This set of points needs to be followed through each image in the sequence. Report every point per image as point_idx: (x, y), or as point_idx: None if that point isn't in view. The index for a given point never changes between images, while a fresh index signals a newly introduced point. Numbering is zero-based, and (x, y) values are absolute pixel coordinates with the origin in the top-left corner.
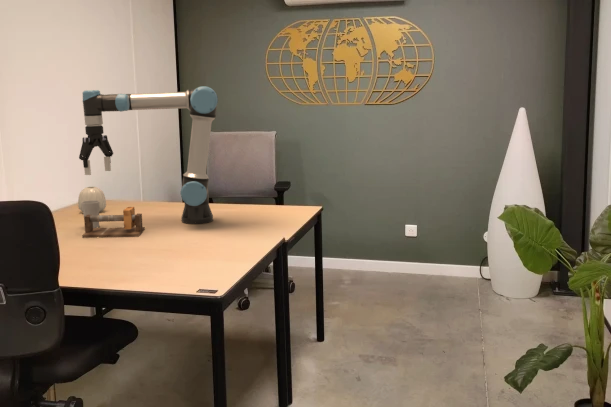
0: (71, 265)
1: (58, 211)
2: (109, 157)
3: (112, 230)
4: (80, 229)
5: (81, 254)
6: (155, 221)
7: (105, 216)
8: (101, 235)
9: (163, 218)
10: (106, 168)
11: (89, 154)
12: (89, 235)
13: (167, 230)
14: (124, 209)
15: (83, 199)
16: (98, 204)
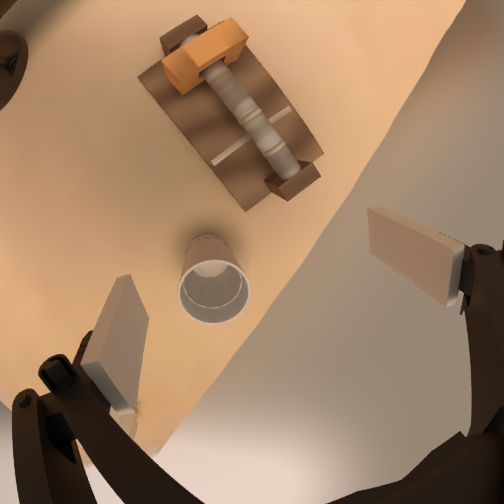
0: (443, 20)
1: (161, 445)
2: (87, 357)
3: (232, 121)
4: (250, 254)
5: (408, 41)
6: (43, 159)
7: (266, 120)
8: (291, 105)
9: (10, 179)
10: (139, 316)
11: (493, 284)
12: (312, 135)
13: (116, 21)
14: (229, 47)
15: (128, 426)
16: (195, 261)
